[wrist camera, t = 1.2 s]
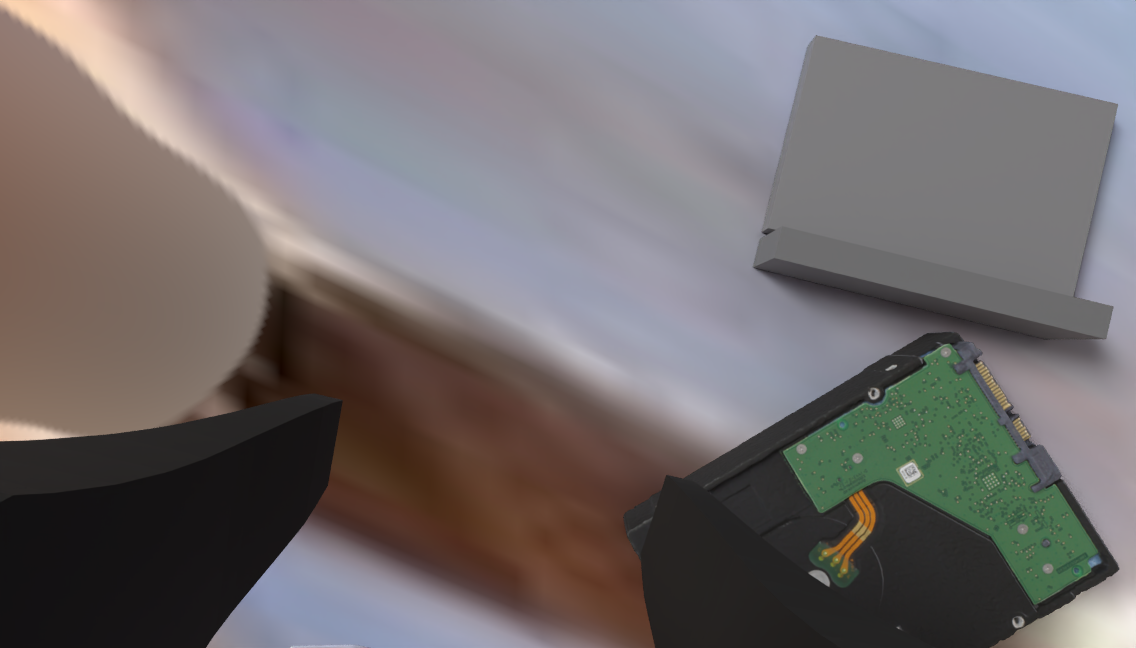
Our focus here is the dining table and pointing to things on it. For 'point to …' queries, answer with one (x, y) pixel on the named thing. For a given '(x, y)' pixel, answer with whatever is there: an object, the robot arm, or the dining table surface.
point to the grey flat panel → (939, 190)
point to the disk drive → (914, 499)
